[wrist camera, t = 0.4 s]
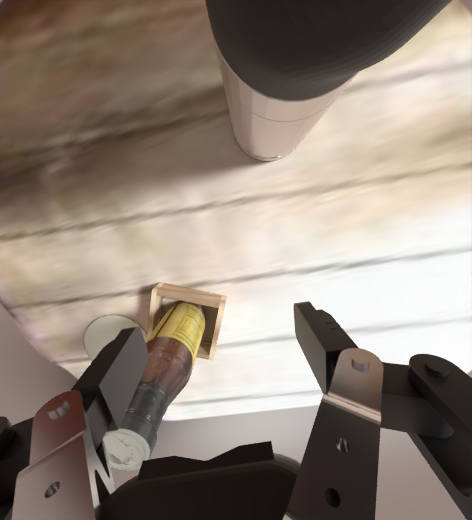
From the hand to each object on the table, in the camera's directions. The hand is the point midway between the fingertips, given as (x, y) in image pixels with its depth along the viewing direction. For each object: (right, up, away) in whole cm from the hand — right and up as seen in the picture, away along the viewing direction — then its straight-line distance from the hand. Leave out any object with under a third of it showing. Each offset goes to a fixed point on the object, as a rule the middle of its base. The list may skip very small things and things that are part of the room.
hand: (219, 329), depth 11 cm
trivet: (-19, -11, +25) cm, 33 cm away
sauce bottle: (-7, -5, +24) cm, 25 cm away
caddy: (-7, -5, +23) cm, 25 cm away
